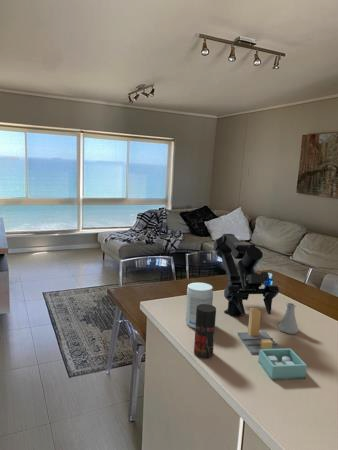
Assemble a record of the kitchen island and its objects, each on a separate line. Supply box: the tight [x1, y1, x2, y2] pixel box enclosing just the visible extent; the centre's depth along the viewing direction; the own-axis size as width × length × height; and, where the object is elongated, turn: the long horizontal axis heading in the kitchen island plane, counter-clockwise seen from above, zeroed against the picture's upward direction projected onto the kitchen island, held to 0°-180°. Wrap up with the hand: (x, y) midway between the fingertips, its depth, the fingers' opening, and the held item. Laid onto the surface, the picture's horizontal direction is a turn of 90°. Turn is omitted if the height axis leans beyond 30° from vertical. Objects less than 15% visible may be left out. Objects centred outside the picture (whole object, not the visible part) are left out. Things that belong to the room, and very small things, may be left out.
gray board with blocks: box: [236, 307, 282, 355], centre depth 110 cm, size 13×11×10 cm
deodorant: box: [193, 304, 217, 360], centre depth 102 cm, size 6×6×15 cm
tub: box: [257, 348, 308, 381], centre depth 96 cm, size 9×10×4 cm
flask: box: [278, 302, 300, 335], centre depth 121 cm, size 7×7×10 cm
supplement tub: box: [185, 282, 214, 329], centre depth 122 cm, size 10×10×15 cm
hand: (256, 314), depth 113 cm, fingers open, 9 cm apart
